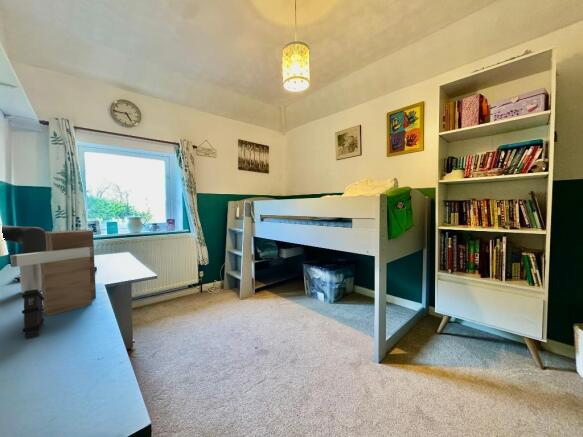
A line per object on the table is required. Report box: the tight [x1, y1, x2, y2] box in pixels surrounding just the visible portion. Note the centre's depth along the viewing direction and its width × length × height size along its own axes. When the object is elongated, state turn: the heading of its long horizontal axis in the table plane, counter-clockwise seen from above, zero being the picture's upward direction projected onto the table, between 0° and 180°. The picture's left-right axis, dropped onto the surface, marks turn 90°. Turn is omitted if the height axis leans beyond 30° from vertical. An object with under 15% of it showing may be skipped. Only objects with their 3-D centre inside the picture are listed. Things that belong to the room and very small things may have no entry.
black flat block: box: [21, 289, 45, 340], centre depth 84 cm, size 4×13×15 cm, turn 40°
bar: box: [9, 247, 95, 268], centre depth 100 cm, size 4×24×4 cm, turn 144°
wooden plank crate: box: [40, 228, 97, 317], centre depth 108 cm, size 21×18×32 cm
